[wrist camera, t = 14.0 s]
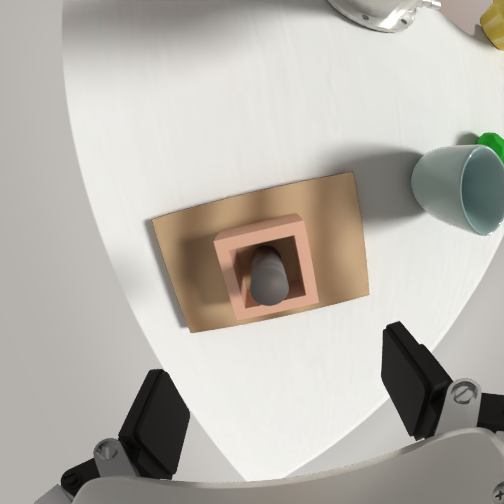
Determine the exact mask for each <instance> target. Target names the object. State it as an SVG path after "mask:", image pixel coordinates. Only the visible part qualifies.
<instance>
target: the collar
mask: <svg viewBox="0 0 504 504" xmlns="http://www.w3.org/2000/svg"><path fill="white" fill-rule="evenodd" d="M288 236H291V239H292V243H293V248H294V253H295V258H296V263H297V268H298V273H299V279H295V280H291V281H288V284H289V291H288V294H287V296H286V298H285V299H284V300H283V301H282V302H281V303H279V304H277V305H273V306H265V305H261V304H259V303H258V302H256V301H255V300H254V298H253V297H252V295H251V292H250V290H247V289H246V286H245V282H244V278H243V275H242V271H241V267H240V264H239V260H238V256H237V252H236V248H240V247H245V246H249V245H253V244H258V243H262V242H266V241H271V240H275V239H280V238H284V237H288ZM213 242H214V245H215V249H216V252H217V256H218V259H219V263H220V266H221V269H222V273H223V276H224V280H225V283H226V286H227V290H228V293H229V296H230V300H231V303H232V306H233V309H234V313H235V316H236V319H237V320H242V319H247V318H252V317H257V316H262V315H267V314H271V313H276V312H281V311H285V310H290V309H294V308H298V307H303V306H307V305H311V304H315V303H319V300H318V294H317V288H316V282H315V276H314V270H313V264H312V259H311V253H310V248H309V243H308V237H307V232H306V227H305V222H304V220H303V219H302V218H301V217H300V216H299V215H298V214H297V213H296V214H292V215H287V216H283V217H278V218H274V219H270V220H265V221H261V222H257V223H253V224H248V225H244V226H240V227H236V228H232V229H228V230H223V231H220V232H219V234H218V235H217V237H216V238H215V240H214V241H213Z"/></svg>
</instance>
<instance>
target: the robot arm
mask: <svg viewBox="0 0 504 504" xmlns="http://www.w3.org/2000/svg"><path fill="white" fill-rule="evenodd" d="M327 1H328V2H329V3H330V4H331V5H332V6H333V7H334V8H335V9H337V10H338V11H339V12H340V13H341V14H343V15H345V16H346V17H348V18H349V19H351V20H353V21H355V22H357V23H359V24H361V25H363V26H366V27H368V28H371V29H374V30H378V31H383V32H399V31H403V30H405V29H407V28H408V27H409V26H410V25H411V24H412V23H413V21H414V19H415V8H416V7H423V6H426V7H428V8H431V9H435V10H439V9H440V8H441V3H440V1H439V0H327ZM381 378H382V381H383V384H384V386H385V387H386V389H387V391H388V393H389V395H390V397H391V399H392V401H393V403H394V405H395V407H396V409H397V411H398V413H399V415H400V417H401V419H402V421H403V423H404V426H405V428H406V430H407V432H408V434H409V435H410V436H414V438H415V440H416V441H418V440H420V439H422V438H425V440H422V441H420V442H417V443H414V444H411V445H409V446H406V447H404V448H401V449H399V450H396V451H393V452H390V453H387V454H385V455H382V456H378V457H376V458H372V459H369V460H366V461H363V462H359V463H356V464H352V465H348V466H345V467H341V468H337V469H332V470H328V471H323V472H319V473H313V474H308V475H302V476H296V477H290V478H282V479H274V480H264V481H251V482H232V483H231V482H230V483H229V482H228V483H205V482H204V483H203V482H184V481H171V480H172V475H173V474H175V473H176V471H177V467H178V463H179V459H180V455H181V451H182V446H183V443H184V439H185V435H186V431H187V427H188V423H189V419H190V412H189V409H188V408H187V406H186V404H185V403H184V401H183V399H182V397H181V396H180V394H179V392H178V390H177V389H176V387H175V385H174V383H173V381H172V379H171V378H170V376H169V374H168V373H167V372H165V371H164V370H163V369H153V370H150V371H149V372H148V374H147V376H146V378H145V380H144V382H143V384H142V386H141V388H140V390H139V392H138V394H137V396H136V398H135V400H134V402H133V405H132V407H131V409H130V411H129V413H128V415H127V417H126V419H125V421H124V424H123V426H122V428H121V430H120V432H119V434H118V436H119V438H118V440H117V439H114V438H108V439H104V440H102V441H100V442H99V443H98V444H97V445H96V447H95V448H94V452H93V453H94V458H92V459H90V460H88V461H86V462H84V463H82V464H80V465H78V466H75V467H73V468H71V469H69V470H67V471H66V472H65V473H64V474H63V475H62V478H61V486H60V485H58V484H57V485H56V486H54V487H53V488H52V489H51V490H49V491H48V492H47V493H46V494H45V495H43V496H42V497H40V498H39V499H38V500H37V501H36V502H35V503H34V504H504V395H497V394H488V393H481V388H480V385H479V384H478V383H477V382H476V381H474V380H472V379H468V378H463V379H459V380H456V381H455V382H454V381H453V380H452V379H451V378H450V376H449V375H448V374H447V373H446V371H445V370H444V369H443V367H442V366H441V365H440V364H439V362H438V361H437V360H436V359H435V357H434V356H433V355H432V354H431V353H430V351H429V350H428V349H427V348H426V346H424V345H423V344H420V345H419V343H418V342H417V341H416V340H415V339H414V337H413V336H412V335H411V334H410V333H409V331H408V330H407V329H406V328H405V327H404V325H403V324H402V323H401V322H400V321H398V322H395V323H392V324H389V325H387V326H386V329H384V330H383V346H382V369H381ZM160 479H167V480H160Z"/></svg>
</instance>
